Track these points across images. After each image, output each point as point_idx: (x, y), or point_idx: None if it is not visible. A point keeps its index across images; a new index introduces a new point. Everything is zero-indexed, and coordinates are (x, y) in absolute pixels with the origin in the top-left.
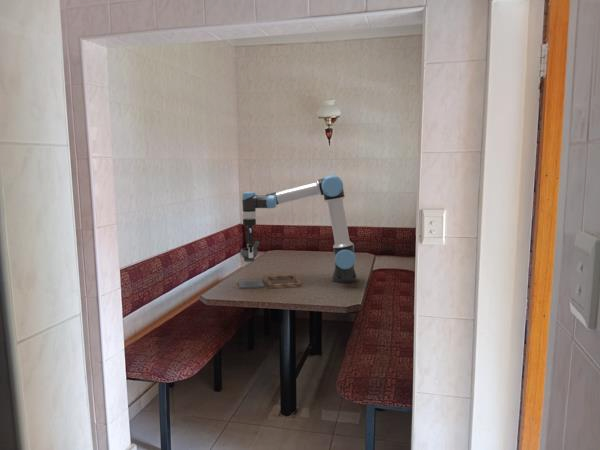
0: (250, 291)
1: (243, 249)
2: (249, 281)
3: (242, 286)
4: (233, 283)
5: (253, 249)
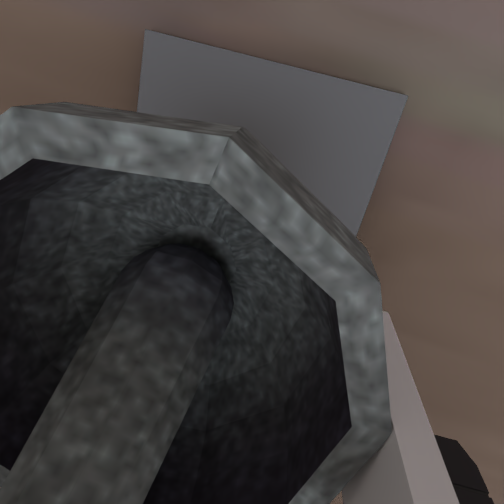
0: (42, 97)
1: (315, 270)
2: (312, 184)
3: (159, 63)
4: (383, 29)
5: (24, 454)
